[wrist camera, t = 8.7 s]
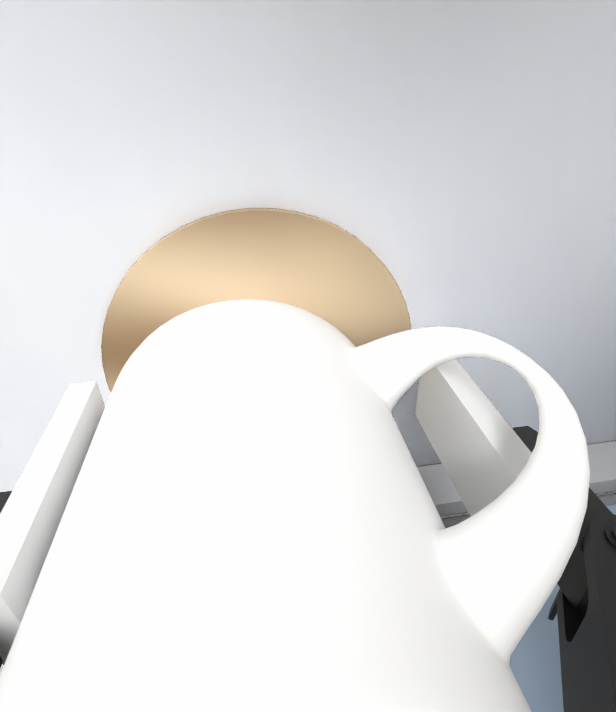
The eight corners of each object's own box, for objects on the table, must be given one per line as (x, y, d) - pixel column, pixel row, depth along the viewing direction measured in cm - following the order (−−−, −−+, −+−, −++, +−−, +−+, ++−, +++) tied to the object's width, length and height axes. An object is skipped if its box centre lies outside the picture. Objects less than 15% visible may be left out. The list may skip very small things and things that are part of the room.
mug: (492, 368, 16) (816, 733, 7) (229, 521, 19) (224, 941, 10) (382, 156, 12) (849, 401, 3) (56, 389, 14) (-253, 934, 5)
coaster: (60, 220, 13) (55, 223, 13) (422, 197, 14) (427, 199, 14) (143, 484, 19) (141, 491, 19) (396, 452, 20) (399, 458, 20)
